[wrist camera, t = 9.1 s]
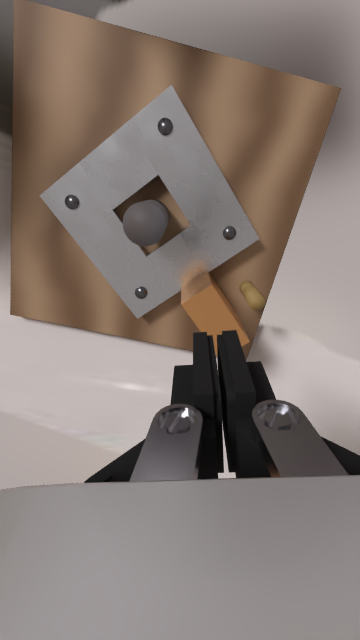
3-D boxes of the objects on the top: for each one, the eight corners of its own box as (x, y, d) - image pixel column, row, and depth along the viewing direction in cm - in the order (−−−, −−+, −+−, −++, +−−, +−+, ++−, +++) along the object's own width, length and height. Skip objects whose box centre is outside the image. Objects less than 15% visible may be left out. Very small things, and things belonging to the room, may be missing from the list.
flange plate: (45, 195, 28) (11, 196, 22) (171, 89, 25) (169, 59, 19) (171, 356, 34) (169, 387, 29) (285, 287, 31) (308, 308, 25)
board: (334, 92, 26) (406, 45, 18) (243, 356, 36) (262, 405, 27) (21, 5, 24) (-64, -94, 16) (16, 310, 34) (-39, 349, 25)
